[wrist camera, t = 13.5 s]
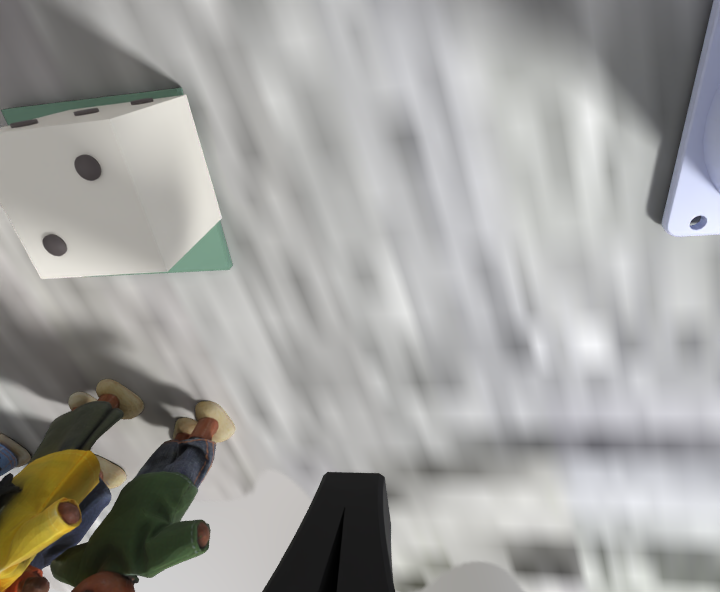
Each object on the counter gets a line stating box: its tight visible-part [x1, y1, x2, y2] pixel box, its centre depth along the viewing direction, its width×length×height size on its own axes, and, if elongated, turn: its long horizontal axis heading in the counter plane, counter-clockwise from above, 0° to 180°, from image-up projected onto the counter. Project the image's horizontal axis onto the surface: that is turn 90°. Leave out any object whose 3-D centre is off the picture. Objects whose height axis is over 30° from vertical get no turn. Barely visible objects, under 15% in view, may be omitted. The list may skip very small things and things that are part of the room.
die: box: [0, 95, 222, 279], centre depth 15 cm, size 5×5×5 cm
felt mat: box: [1, 88, 233, 277], centre depth 18 cm, size 7×7×1 cm
